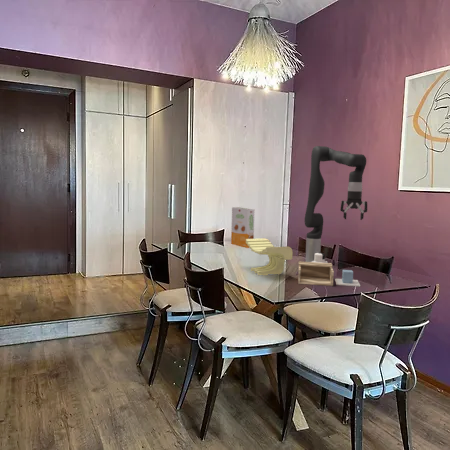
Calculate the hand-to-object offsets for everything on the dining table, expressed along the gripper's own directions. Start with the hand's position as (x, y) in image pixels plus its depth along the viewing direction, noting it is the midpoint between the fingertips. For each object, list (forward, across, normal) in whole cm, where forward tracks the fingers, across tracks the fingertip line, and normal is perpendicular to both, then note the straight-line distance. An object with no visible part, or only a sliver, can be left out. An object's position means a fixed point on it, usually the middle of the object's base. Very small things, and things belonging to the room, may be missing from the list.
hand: (353, 219), depth 236 cm
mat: (+33, +3, +14) cm, 36 cm away
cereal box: (+33, +74, -89) cm, 120 cm away
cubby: (+33, +20, +14) cm, 41 cm away
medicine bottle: (+33, +17, -6) cm, 38 cm away
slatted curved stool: (+33, +47, 0) cm, 58 cm away
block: (+32, +3, +14) cm, 36 cm away
